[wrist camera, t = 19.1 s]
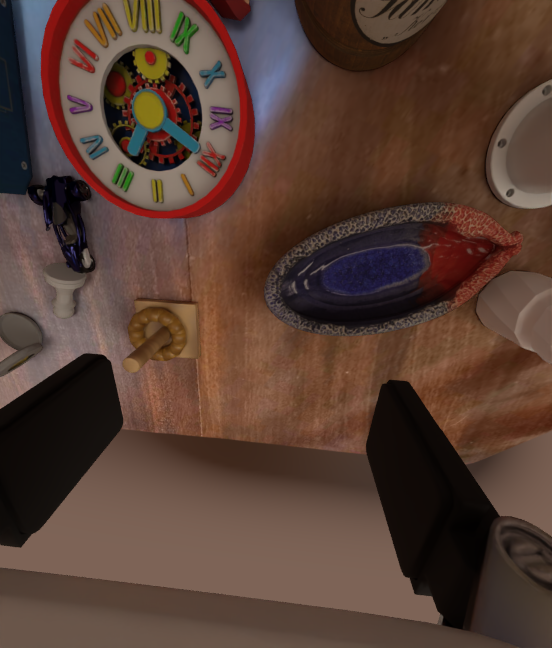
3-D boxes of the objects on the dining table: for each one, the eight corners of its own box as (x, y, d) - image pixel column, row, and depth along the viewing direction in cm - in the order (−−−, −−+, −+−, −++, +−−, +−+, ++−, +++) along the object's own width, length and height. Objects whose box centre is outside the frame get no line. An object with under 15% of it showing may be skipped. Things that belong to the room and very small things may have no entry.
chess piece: (71, 259, 38) (68, 303, 42) (33, 265, 34) (34, 312, 38) (95, 277, 38) (90, 319, 42) (59, 285, 34) (57, 331, 38)
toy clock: (82, -116, 20) (289, 74, 24) (126, -46, 26) (289, 100, 29) (16, 137, 27) (186, 255, 31) (61, 150, 32) (201, 249, 36)
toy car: (38, 179, 34) (8, 174, 30) (85, 173, 33) (60, 168, 30) (73, 272, 38) (51, 278, 35) (115, 268, 38) (97, 274, 34)
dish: (254, 234, 35) (249, 237, 30) (503, 182, 32) (540, 176, 27) (276, 338, 41) (275, 353, 36) (490, 304, 37) (518, 316, 33)
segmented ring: (185, 307, 38) (180, 312, 36) (189, 358, 41) (185, 364, 40) (129, 304, 38) (120, 308, 37) (137, 354, 42) (130, 361, 40)
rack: (197, 302, 39) (165, 333, 29) (200, 355, 43) (172, 400, 32) (138, 297, 39) (84, 327, 29) (146, 351, 43) (100, 394, 32)
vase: (535, 257, 35) (650, 277, 23) (547, 312, 37) (656, 353, 26) (466, 289, 37) (543, 321, 25) (482, 339, 39) (559, 388, 28)
